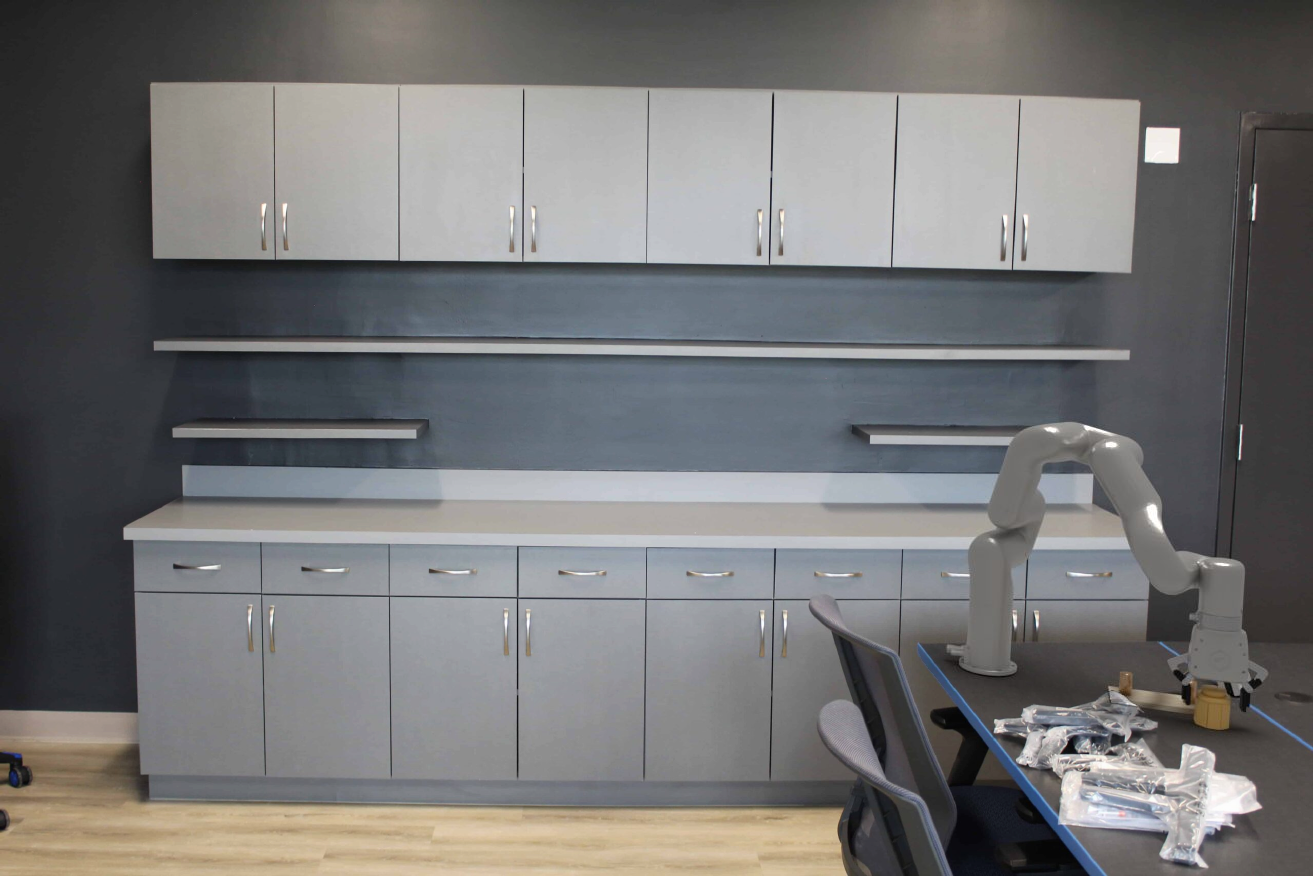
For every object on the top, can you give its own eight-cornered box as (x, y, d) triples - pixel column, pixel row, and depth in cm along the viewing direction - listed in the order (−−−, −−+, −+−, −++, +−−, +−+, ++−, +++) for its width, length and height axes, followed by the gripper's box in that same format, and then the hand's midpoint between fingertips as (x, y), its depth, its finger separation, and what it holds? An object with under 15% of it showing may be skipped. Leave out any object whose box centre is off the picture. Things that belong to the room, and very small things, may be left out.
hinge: (1248, 701, 210) (1234, 655, 210) (1223, 704, 212) (1209, 658, 213) (1251, 678, 224) (1237, 635, 224) (1227, 681, 226) (1214, 638, 227)
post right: (1183, 703, 204) (1184, 682, 204) (1181, 699, 206) (1183, 678, 206) (1196, 705, 203) (1198, 684, 203) (1194, 701, 206) (1196, 680, 205)
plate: (1110, 703, 207) (1110, 698, 207) (1108, 691, 214) (1108, 686, 214) (1208, 717, 200) (1208, 711, 200) (1202, 704, 208) (1202, 698, 208)
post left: (1119, 695, 209) (1120, 674, 208) (1118, 691, 211) (1119, 670, 210) (1131, 696, 208) (1133, 675, 207) (1130, 693, 210) (1132, 672, 209)
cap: (1196, 726, 195) (1198, 691, 194) (1192, 716, 200) (1194, 681, 200) (1230, 731, 193) (1233, 695, 192) (1225, 721, 198) (1228, 686, 198)
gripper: (1172, 621, 194) (1167, 707, 196) (1274, 631, 188) (1269, 719, 189) (1168, 612, 201) (1163, 695, 203) (1266, 621, 195) (1261, 706, 196)
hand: (1214, 706), depth 196 cm, fingers open, 9 cm apart
